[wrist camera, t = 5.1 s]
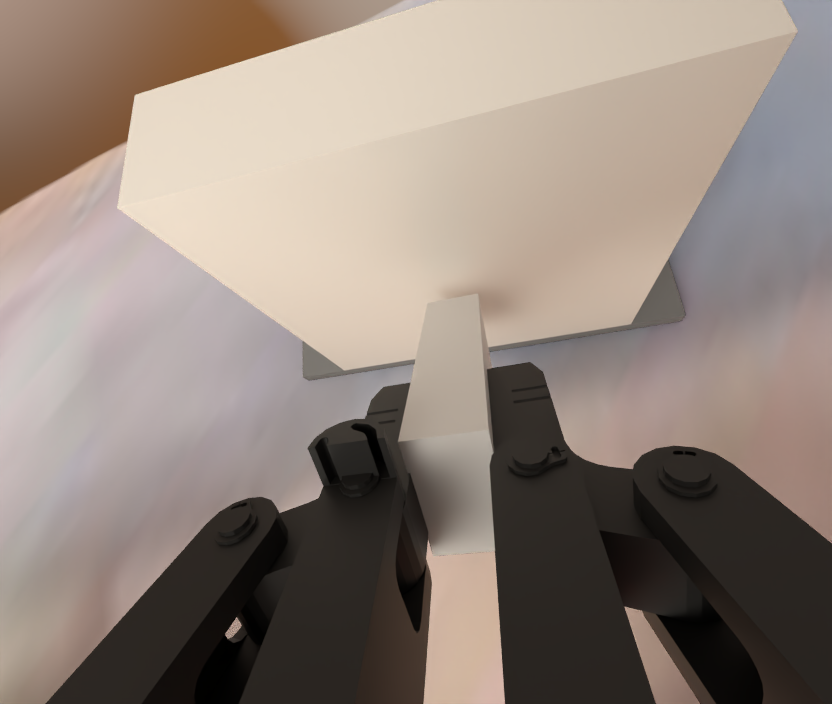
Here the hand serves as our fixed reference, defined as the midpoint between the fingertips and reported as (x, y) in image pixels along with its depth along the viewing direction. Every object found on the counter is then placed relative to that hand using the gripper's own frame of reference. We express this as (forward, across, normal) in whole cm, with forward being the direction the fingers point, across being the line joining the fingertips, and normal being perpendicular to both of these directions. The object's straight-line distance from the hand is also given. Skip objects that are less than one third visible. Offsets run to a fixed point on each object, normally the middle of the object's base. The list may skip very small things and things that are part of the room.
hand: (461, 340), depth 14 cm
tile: (+6, 0, -2) cm, 6 cm away
